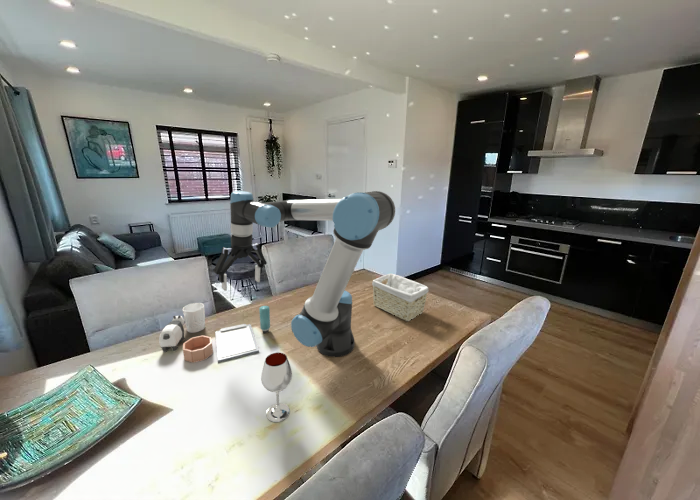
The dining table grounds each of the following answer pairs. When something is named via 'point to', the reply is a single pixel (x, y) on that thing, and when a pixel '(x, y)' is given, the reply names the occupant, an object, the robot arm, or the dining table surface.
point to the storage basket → (399, 296)
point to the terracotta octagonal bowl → (197, 348)
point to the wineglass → (276, 383)
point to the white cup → (194, 317)
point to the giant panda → (172, 334)
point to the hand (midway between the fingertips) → (241, 285)
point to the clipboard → (235, 342)
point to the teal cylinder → (264, 318)
